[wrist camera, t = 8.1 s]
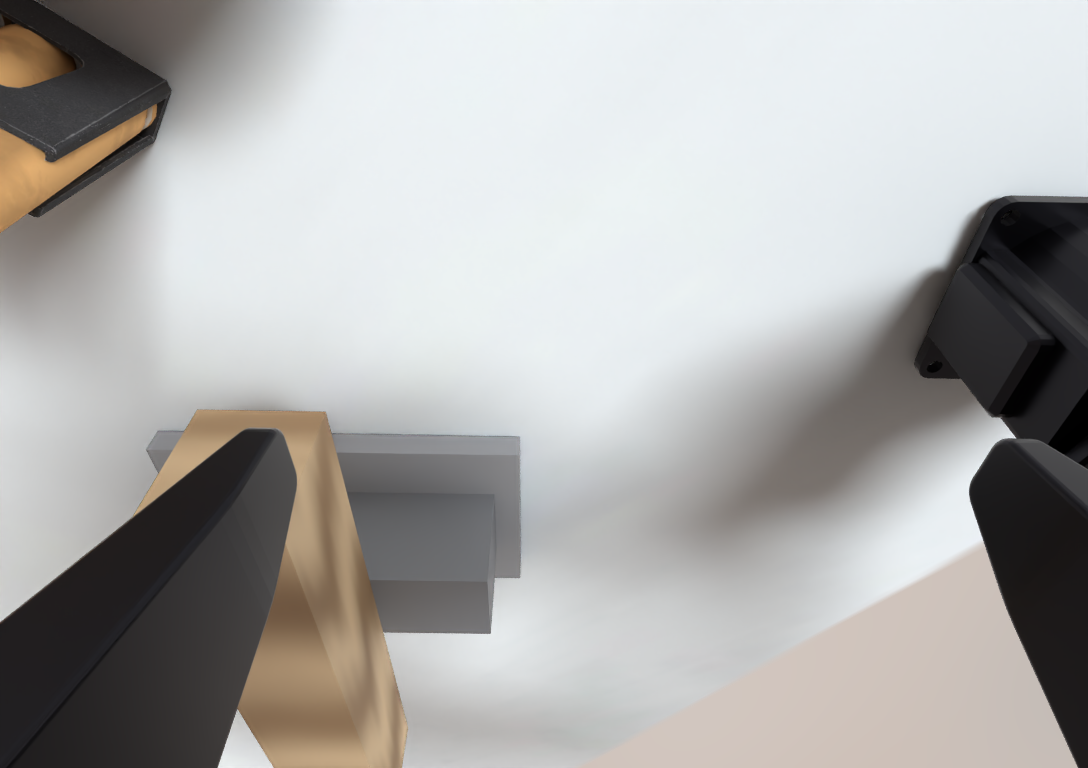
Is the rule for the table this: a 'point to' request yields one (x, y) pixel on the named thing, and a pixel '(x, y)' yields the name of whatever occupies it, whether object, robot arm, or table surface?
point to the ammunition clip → (65, 109)
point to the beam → (310, 611)
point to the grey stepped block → (427, 523)
